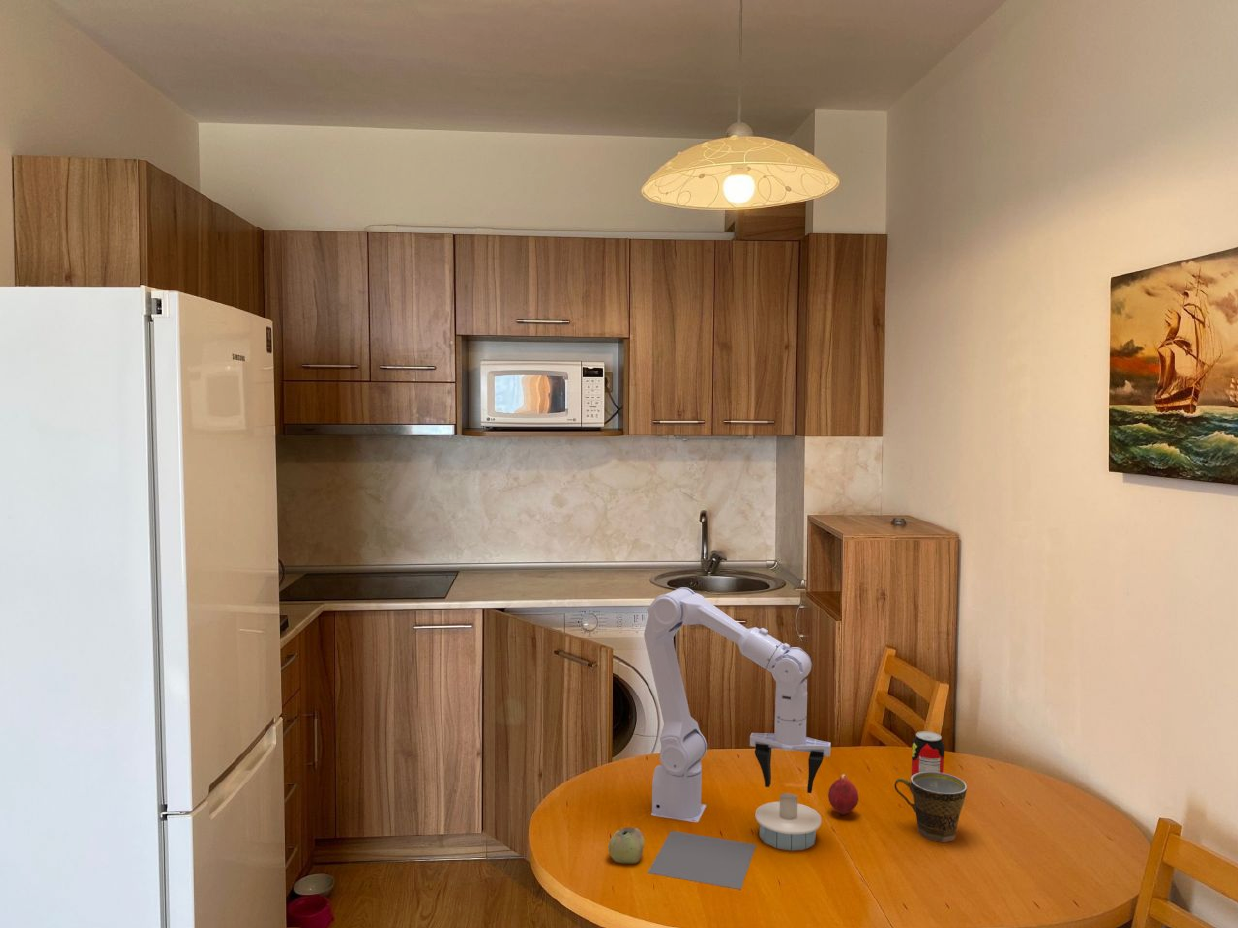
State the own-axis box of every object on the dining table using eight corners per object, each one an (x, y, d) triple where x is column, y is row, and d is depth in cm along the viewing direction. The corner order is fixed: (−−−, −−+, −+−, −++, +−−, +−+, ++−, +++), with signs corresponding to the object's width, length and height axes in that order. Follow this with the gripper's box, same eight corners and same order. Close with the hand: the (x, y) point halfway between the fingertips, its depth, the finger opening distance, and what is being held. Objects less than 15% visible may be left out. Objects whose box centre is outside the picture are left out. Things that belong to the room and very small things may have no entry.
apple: (657, 866, 156) (657, 834, 156) (613, 872, 154) (613, 839, 154) (647, 850, 162) (647, 818, 162) (604, 855, 160) (604, 823, 159)
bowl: (756, 847, 163) (756, 826, 163) (764, 823, 173) (765, 803, 172) (812, 856, 160) (812, 834, 160) (817, 831, 170) (818, 811, 169)
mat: (647, 875, 153) (647, 872, 153) (671, 833, 168) (671, 830, 168) (740, 892, 148) (740, 889, 148) (756, 847, 163) (756, 844, 163)
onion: (858, 822, 174) (859, 782, 173) (827, 819, 175) (829, 779, 174) (856, 809, 179) (858, 770, 179) (827, 806, 180) (828, 767, 180)
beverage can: (945, 789, 189) (947, 734, 188) (938, 800, 184) (940, 743, 183) (915, 782, 193) (917, 727, 192) (907, 793, 187) (909, 736, 186)
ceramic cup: (966, 827, 172) (968, 777, 171) (963, 851, 163) (965, 797, 162) (896, 814, 177) (898, 765, 177) (889, 836, 168) (890, 784, 168)
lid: (750, 827, 162) (750, 805, 162) (760, 800, 174) (761, 779, 173) (817, 838, 159) (818, 815, 158) (824, 809, 170) (824, 788, 170)
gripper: (747, 718, 163) (745, 790, 164) (829, 728, 159) (826, 802, 160) (754, 705, 170) (752, 775, 171) (832, 715, 166) (830, 786, 167)
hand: (788, 787), depth 166 cm, fingers open, 7 cm apart
